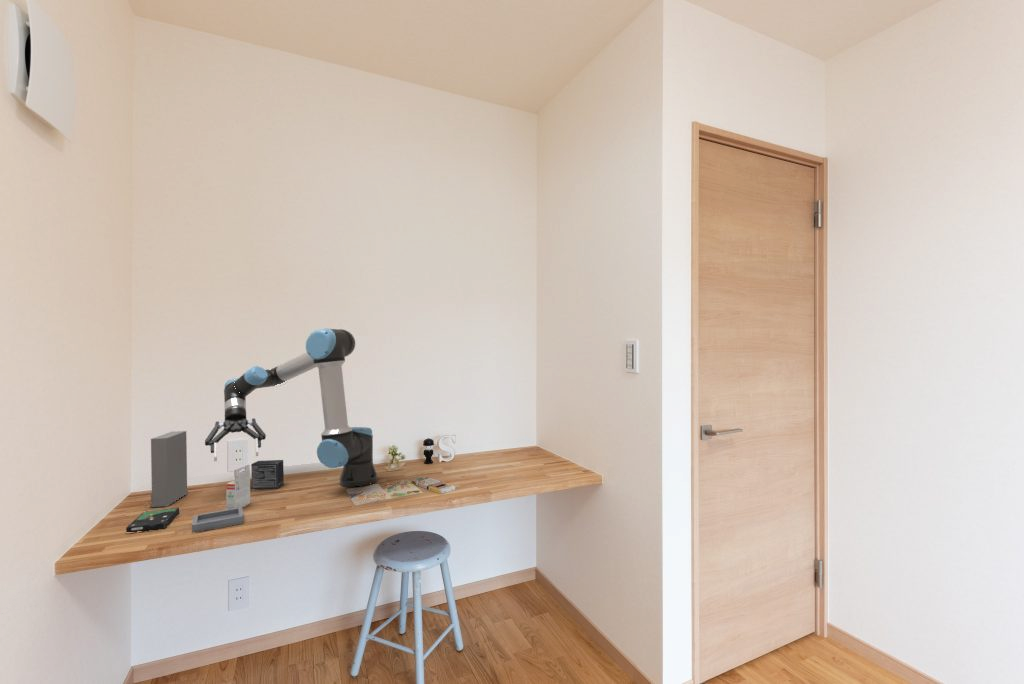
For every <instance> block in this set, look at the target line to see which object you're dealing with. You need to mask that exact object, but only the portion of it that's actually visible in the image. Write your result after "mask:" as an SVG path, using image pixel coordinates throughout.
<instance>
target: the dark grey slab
mask: <svg viewBox="0 0 1024 684" xmlns="http://www.w3.org/2000/svg"><path fill="white" fill-rule="evenodd" d="M187 449H188V447H187V431H186V430H181V431H180V430H179V431H177V430H176V431H170V432H166V433H164V434H160V435H157V436H156V437H152V438H150V459H151V461H150V462H151V464H150V465H151V471H150V472H151V494H150V502H151V503H149V508H151V507H153V508H157V507H158V508H159V507H160V508H162V507H165V506H168V507H169V506H170V505H172V504H173V502H174V503H175V502H177V501H179V500H180V499H181V497H182V496H183V497H185V496H186V495H185V494H187V493H189V492H188V462H187V461H188V460H187V459H188V458H187V457H188V456H187V453H188V452H187ZM184 495H185V496H184ZM187 495H188V494H187ZM183 497H182V498H183ZM179 498H180V499H179ZM176 500H177V501H176Z"/></svg>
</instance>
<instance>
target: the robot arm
mask: <svg viewBox="0 0 1024 684" xmlns="http://www.w3.org/2000/svg"><path fill="white" fill-rule="evenodd" d="M355 347H356V340H355V336H353V334H352V333H351V332H350V331H348V330H346V329H342V328H341V329H336V328H319V329H315V330H314V331H312V332H310V334H309V336H308V337H307V339H306V341H305V351H306V352H305V353H302V354H301V355H298V356H296V357H294V358H291V359H290V360H287V361H286V362H284V363H282V364H281V363H280V364H279V365H277V366H275V367H273V368H271V370H269V369H264V368H263V367H261V366H258V365H256V366H252V367H251V368H249V369H248V370H246V371H245V372H244V373H243V374H242V375H241V376H240V377H239V378H234V377H233V378H232V379H228V380H227V381H226V382H225V384H224V389H223V393H224V394H223V395H224V396H223V397H224V421H223V422H220V421H215V424H214V427H213V428H212V429H211V431H210V433H208V435H207V437H206V438H205V440H204V445H205V446H206V447H207V446H209V447H210V453H211V454H213V456H214V457H213V461H214V462H217V457H218V455H217V454H218V451H217V449H218V448H217V447H218V446H217V445H218V443H219V442H220V441H221V440H223V438H225V437H226V436H227V435H228V434H229V433H232V434H233V433H241V432H243V433H245V434H247V435H248V436H249V437H251V438H252V439H253V440H254V443H255V444H254V445H255V457H258V456H259V448H262V440H263V441H264V440H266V436H267V435H266V433H265V432H264V431H263V429H262V428H261V427H260V426H259V424H258V423H257V421H256V418H254V417H253V418H251V420H248V419H247V402H246V397H247V396H249V394H251V393H253V392H254V391H255V390H256V389H262V388H270V387H276V386H275V385H277V384H281V383H283V382H285V381H287V380H288V381H289V380H291V379H294V378H296V377H298V376H300V375H302V374H305V373H307V372H308V371H311V370H314V369H315V368H317V369H318V376H319V377H318V378H319V385H320V394H321V395H320V396H321V405H322V415H323V422H324V424H323V425H324V430H323V431H322V432H321V434H320V435H321V441H320V443H319V445H318V446H317V448H316V456H317V459H318V461H319V462H320V463H321V464H322V465H324V467H327V468H329V469H337V468H340V467H342V469H341V473H340V476H339V485H340V486H341V485H342V487H345V488H346V487H347V488H356V487H355V486H361V487H363V486H362V485H366V484H370V483H373V484H375V483H376V482H377V481H378V473H377V470H376V467H375V464H374V458H373V453H374V452H373V451H374V449H373V448H374V446H373V444H374V443H373V441H374V440H373V439H374V435H373V429H372V428H370V427H367V426H365V427H364V426H363V427H361V426H360V427H359V426H355V427H354V426H349V424H348V423H349V422H348V414H347V413H348V411H347V405H346V403H347V402H346V395H345V393H346V392H345V386H344V376H343V367H342V366H343V365H344V364H345V362H346V357H348V356H350V355H351V354H352V353H353V352H354V350H355ZM288 381H287V382H288ZM234 382H235V383H234ZM234 386H235V387H234ZM235 388H236V389H235ZM239 392H240V393H239ZM248 425H250V427H252V428H253V429H251V428H250V427H249V426H248ZM222 427H223V429H222V430H221V431H220V432H219V433H218V431H219V430H220V429H221V428H222ZM217 433H218V434H217ZM216 434H217V435H216ZM374 482H375V483H374ZM370 485H371V484H370ZM366 486H367V485H366Z"/></svg>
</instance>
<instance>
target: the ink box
mask: <svg viewBox="0 0 1024 684" xmlns="http://www.w3.org/2000/svg"><path fill="white" fill-rule="evenodd" d="M250 469H251V466H250V464H247V465H245V466H242V467H240V468H236V469H234V471H233V472H234V480H232V481H230V482H227V483H226V484H225V486H226V487H225V488H226V489H225V491H226V493H225V495H226V497H225V501H226V503H225V506H226V507H225V510H227V509H233V508H238V507H242V509H243V508H244V507H247V506H248V505H250V504H251V475H250V473H251V470H250ZM242 470H243V471H242Z"/></svg>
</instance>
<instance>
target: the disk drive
mask: <svg viewBox="0 0 1024 684" xmlns="http://www.w3.org/2000/svg"><path fill="white" fill-rule="evenodd" d="M179 514H180V507H172V508H164V509H163V508H162V509H158V510H149V511H148V510H147V511H144V512H143V513H141V514H139V516H138V517H136V519H134V520H133V521H132V522H131V523H129V524H128V525H127V526H126V527H125V532H137V531H147V532H150V531H149V530H155V531H160V530H159V529H163V530H166V527H167V526H168V527H169V526H170V524H171V523H172V522H173V521H174V520H175V519H176V518H177V517H178V516H179ZM177 515H178V516H177ZM176 516H177V517H176ZM175 517H176V518H175ZM174 518H175V519H174ZM168 527H167V528H168Z"/></svg>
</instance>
